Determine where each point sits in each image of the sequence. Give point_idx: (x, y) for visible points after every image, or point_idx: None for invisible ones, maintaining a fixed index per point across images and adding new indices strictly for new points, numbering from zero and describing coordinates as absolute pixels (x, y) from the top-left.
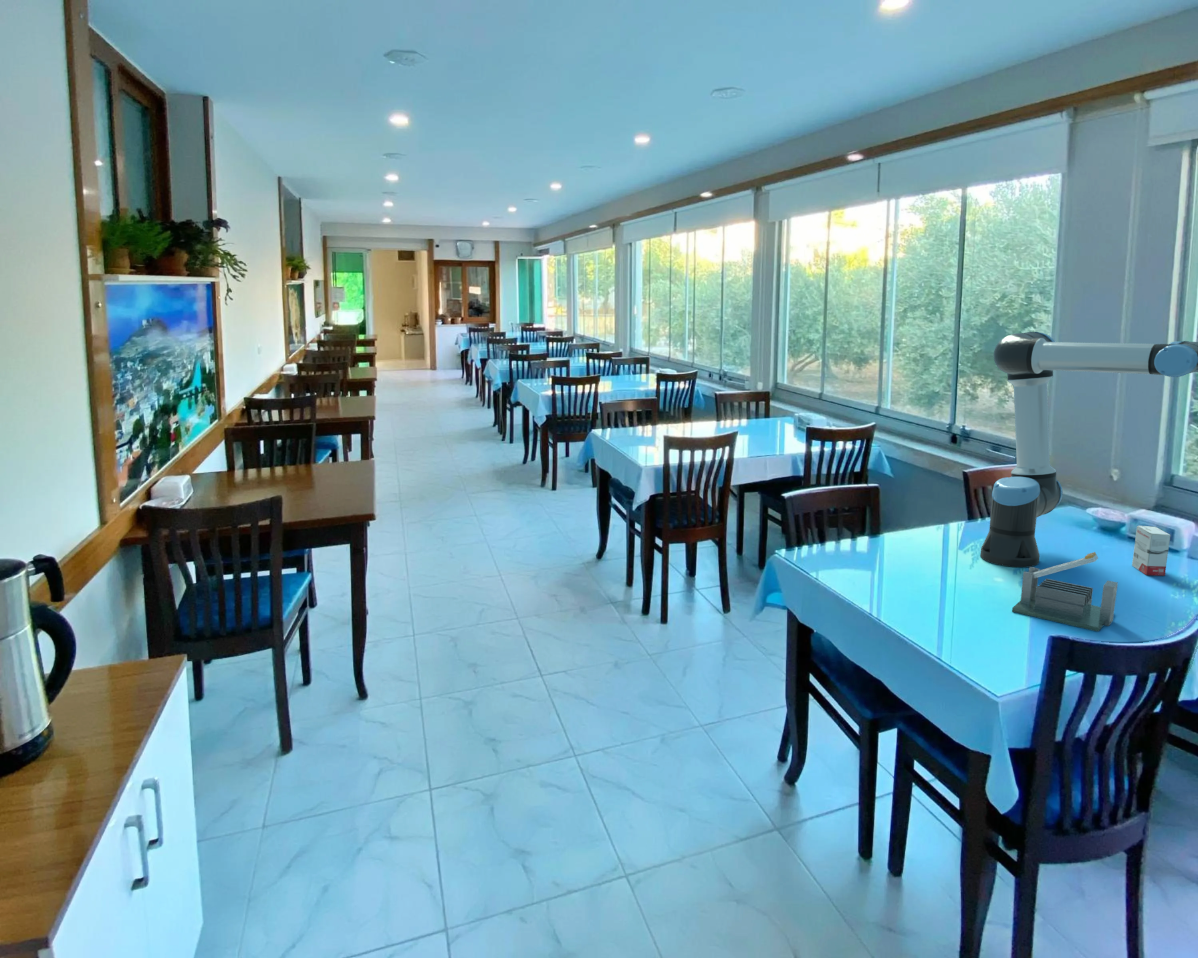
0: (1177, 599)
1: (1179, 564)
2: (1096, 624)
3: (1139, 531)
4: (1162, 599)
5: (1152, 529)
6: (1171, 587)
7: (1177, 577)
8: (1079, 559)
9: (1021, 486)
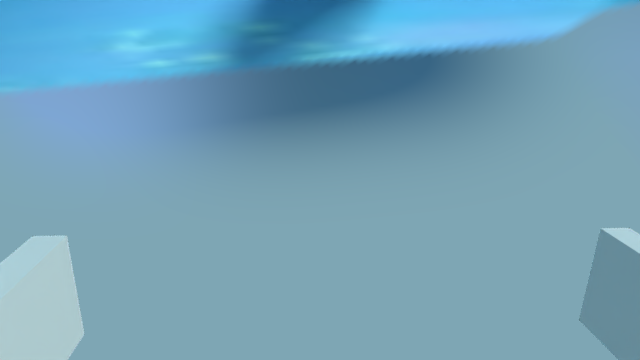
0: (103, 53)
1: (506, 17)
2: None
3: None
4: (67, 14)
5: None
6: (219, 24)
7: (346, 28)
8: None
9: None
